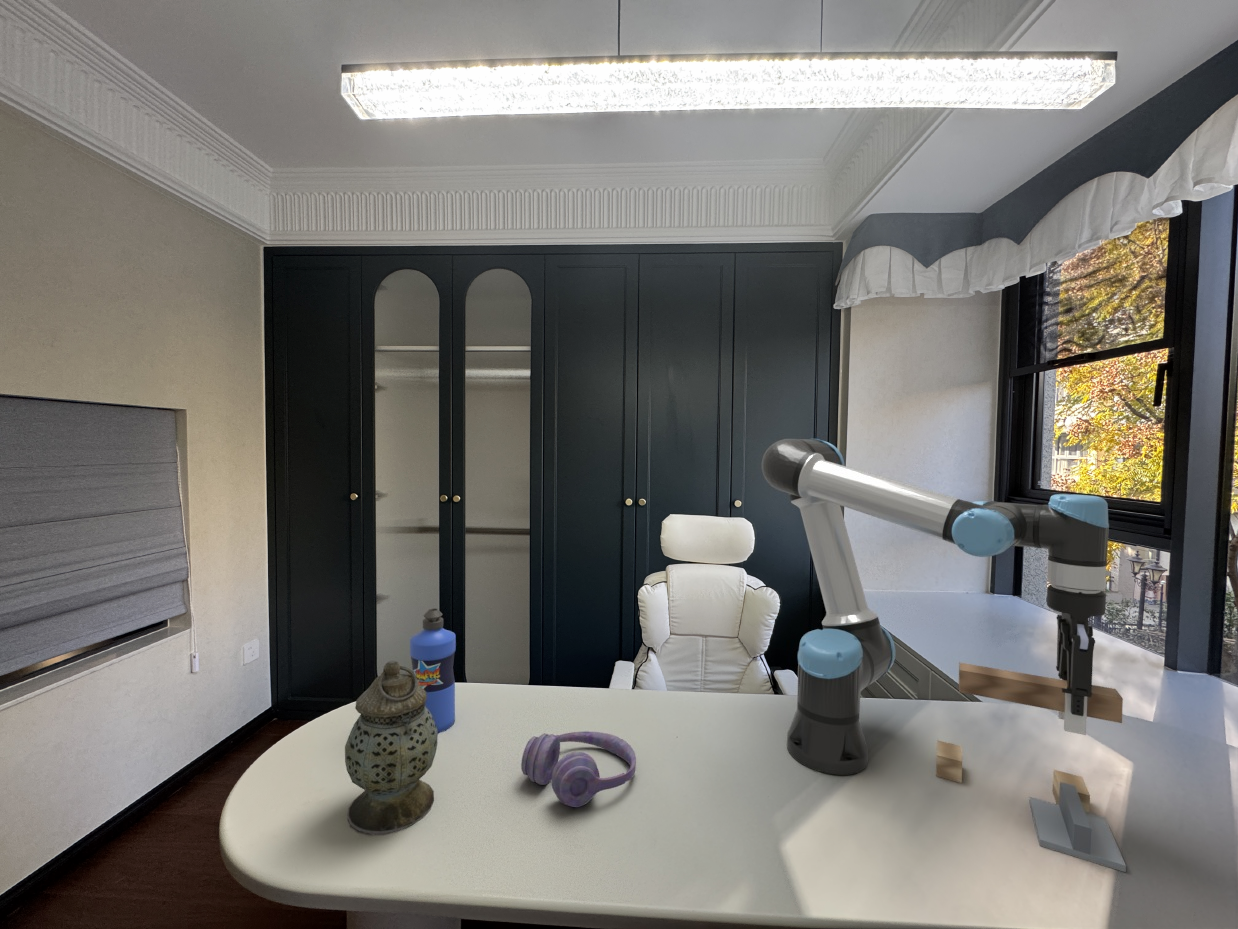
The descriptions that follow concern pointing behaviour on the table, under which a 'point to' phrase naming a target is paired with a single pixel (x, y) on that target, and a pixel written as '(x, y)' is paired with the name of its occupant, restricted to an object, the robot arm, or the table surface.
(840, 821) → the table surface
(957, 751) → the block
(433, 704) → the water bottle
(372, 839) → the table surface
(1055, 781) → the block
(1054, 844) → the fulcrum
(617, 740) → the headphones
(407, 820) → the lantern
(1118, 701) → the walnut bar
